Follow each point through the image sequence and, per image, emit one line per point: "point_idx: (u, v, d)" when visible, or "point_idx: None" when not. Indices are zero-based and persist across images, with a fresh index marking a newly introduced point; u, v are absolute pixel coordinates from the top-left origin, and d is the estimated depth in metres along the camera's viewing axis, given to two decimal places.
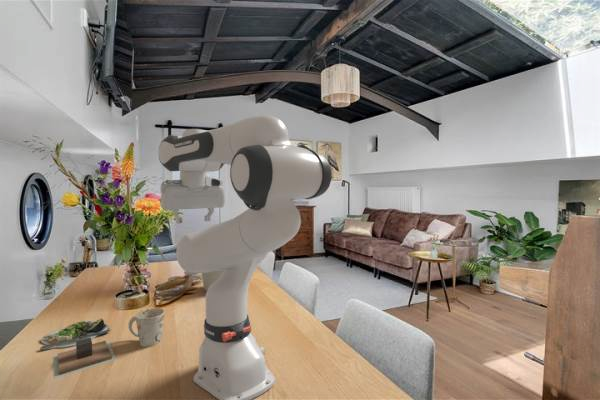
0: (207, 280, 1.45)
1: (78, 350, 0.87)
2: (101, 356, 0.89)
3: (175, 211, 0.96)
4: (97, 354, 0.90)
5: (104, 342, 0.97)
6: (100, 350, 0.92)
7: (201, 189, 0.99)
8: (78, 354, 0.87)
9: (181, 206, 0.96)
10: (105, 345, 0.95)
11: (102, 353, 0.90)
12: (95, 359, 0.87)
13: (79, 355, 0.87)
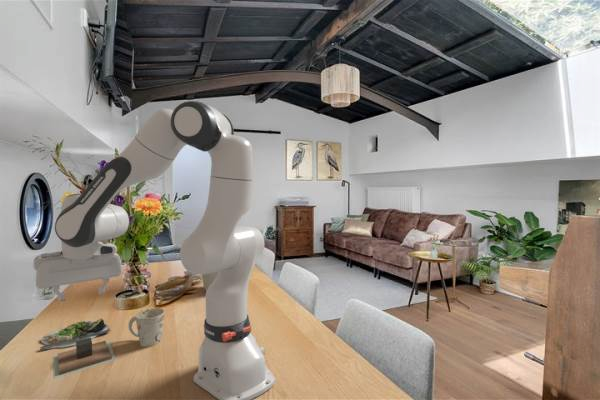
0: (207, 280, 1.45)
1: (78, 350, 0.87)
2: (101, 356, 0.89)
3: (54, 288, 0.84)
4: (97, 354, 0.90)
5: (104, 342, 0.97)
6: (100, 350, 0.92)
7: (87, 260, 0.87)
8: (78, 354, 0.87)
9: (61, 282, 0.84)
10: (105, 345, 0.95)
11: (102, 353, 0.90)
12: (95, 359, 0.87)
13: (79, 355, 0.87)
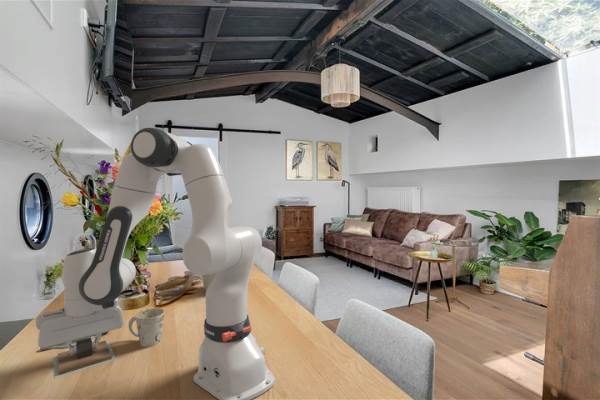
0: (207, 280, 1.45)
1: (78, 350, 0.87)
2: (101, 356, 0.89)
3: (67, 343, 0.86)
4: (97, 354, 0.90)
5: (104, 342, 0.97)
6: (100, 350, 0.92)
7: (89, 315, 0.88)
8: (78, 354, 0.87)
9: (63, 339, 0.85)
10: (105, 345, 0.95)
11: (102, 353, 0.90)
12: (95, 359, 0.87)
13: (79, 355, 0.87)
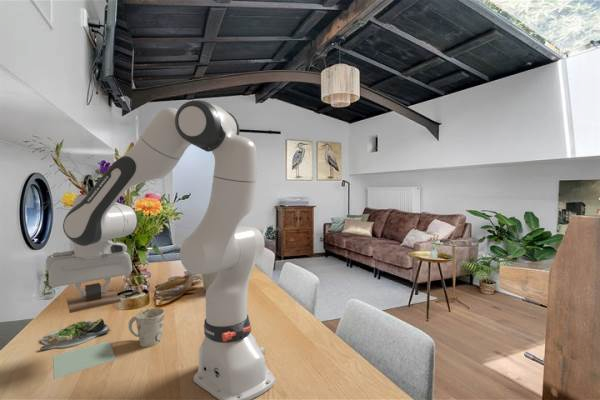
0: (207, 280, 1.45)
1: (87, 292, 0.88)
2: (110, 299, 0.90)
3: (76, 285, 0.87)
4: (106, 298, 0.91)
5: (112, 290, 0.98)
6: (108, 296, 0.93)
7: (98, 258, 0.89)
8: (87, 296, 0.88)
9: (73, 280, 0.86)
10: (113, 292, 0.96)
11: (111, 297, 0.91)
12: (104, 301, 0.88)
13: (88, 297, 0.88)
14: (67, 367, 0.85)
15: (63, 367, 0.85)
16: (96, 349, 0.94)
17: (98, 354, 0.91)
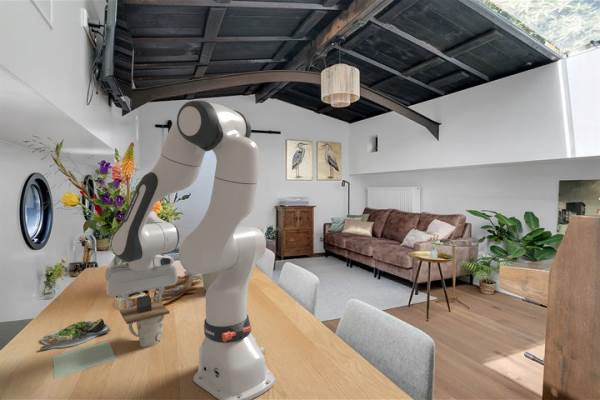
0: (207, 280, 1.45)
1: (140, 305, 0.96)
2: (160, 311, 0.98)
3: (124, 296, 0.94)
4: (155, 310, 0.99)
5: (158, 301, 1.06)
6: (157, 307, 1.01)
7: (149, 270, 0.97)
8: (140, 308, 0.96)
9: (128, 290, 0.94)
10: (160, 303, 1.04)
11: (160, 309, 0.99)
12: (155, 313, 0.96)
13: (141, 309, 0.97)
14: (67, 367, 0.85)
15: (63, 367, 0.85)
16: (96, 349, 0.94)
17: (98, 354, 0.91)
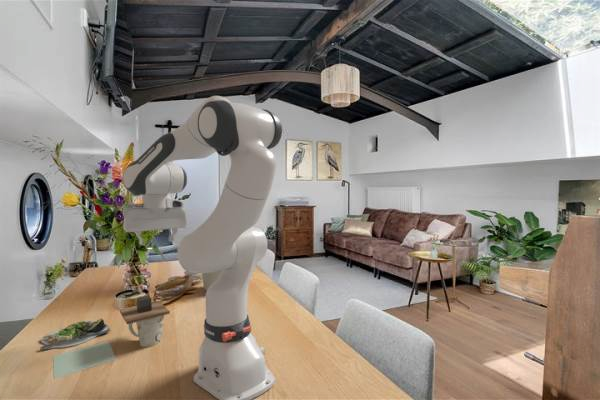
0: (207, 280, 1.45)
1: (140, 305, 0.96)
2: (160, 311, 0.98)
3: (138, 233, 1.01)
4: (156, 310, 0.99)
5: (158, 301, 1.06)
6: (157, 307, 1.01)
7: (163, 211, 1.05)
8: (140, 308, 0.96)
9: (143, 228, 1.02)
10: (160, 304, 1.04)
11: (160, 309, 0.99)
12: (155, 313, 0.96)
13: (141, 309, 0.97)
14: (67, 367, 0.85)
15: (63, 367, 0.85)
16: (96, 349, 0.94)
17: (98, 354, 0.91)
